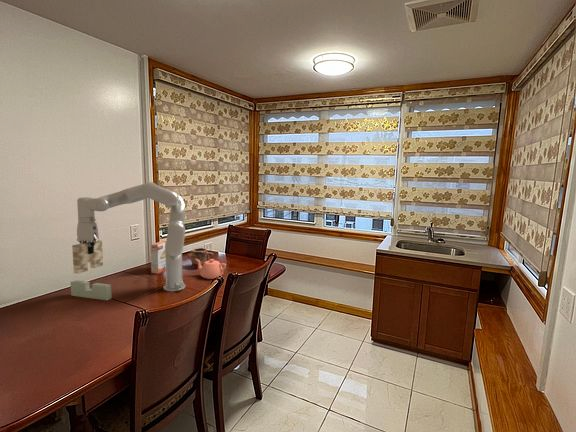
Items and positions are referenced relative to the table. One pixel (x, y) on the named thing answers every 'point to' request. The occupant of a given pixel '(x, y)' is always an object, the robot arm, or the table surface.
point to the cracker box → (158, 257)
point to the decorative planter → (199, 256)
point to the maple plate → (86, 257)
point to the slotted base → (91, 290)
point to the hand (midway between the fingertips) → (88, 252)
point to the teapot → (211, 269)
